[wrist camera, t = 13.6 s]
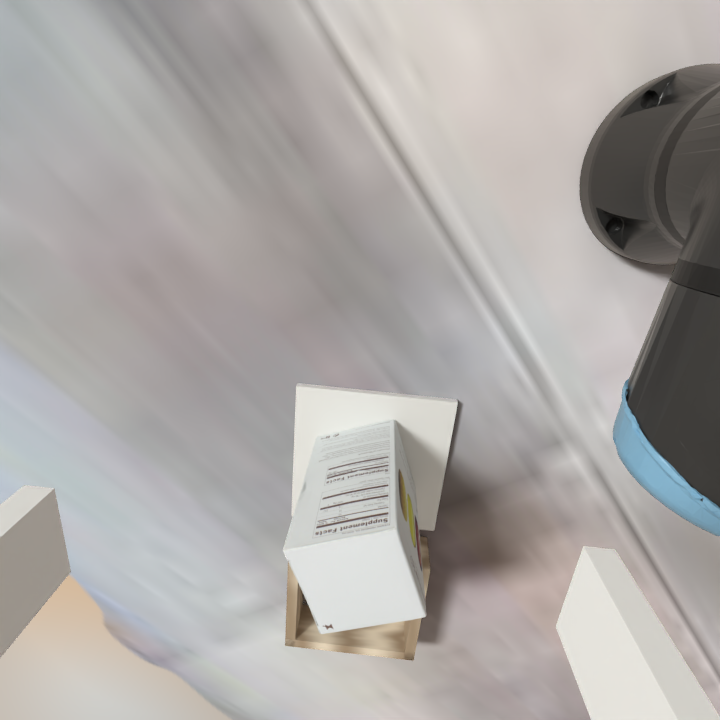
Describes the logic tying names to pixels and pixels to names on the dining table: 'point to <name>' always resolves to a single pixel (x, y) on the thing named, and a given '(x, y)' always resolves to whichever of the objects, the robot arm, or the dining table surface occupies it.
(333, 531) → the supplement box
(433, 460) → the tile
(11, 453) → the dining table surface
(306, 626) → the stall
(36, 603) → the robot arm
